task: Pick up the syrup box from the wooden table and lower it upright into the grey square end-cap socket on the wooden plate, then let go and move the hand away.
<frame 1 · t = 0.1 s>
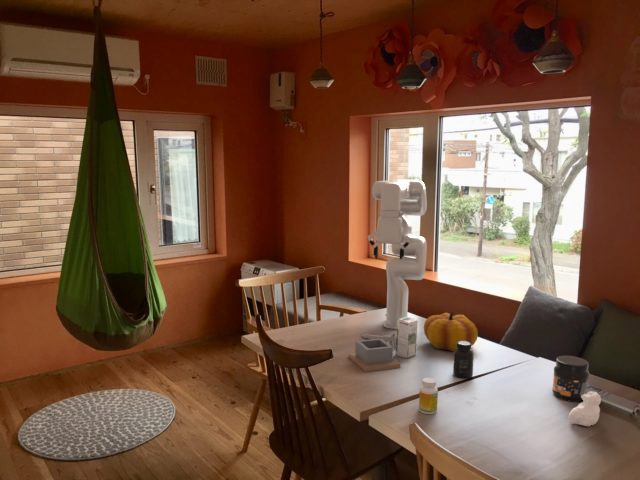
hand: (388, 258, 216), 37 cm above the table, tool pointing down, fingers open, 9 cm apart
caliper: (378, 343, 230), on the table
decorative pumpkin: (449, 347, 226), on the table
supplement bottle: (462, 375, 196), on the table
syrup box: (405, 355, 215), on the table
supplement bottle 2: (427, 411, 168), on the table
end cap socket: (373, 361, 207), on the table
bust: (585, 424, 161), on the table
supplement container: (569, 396, 180), on the table
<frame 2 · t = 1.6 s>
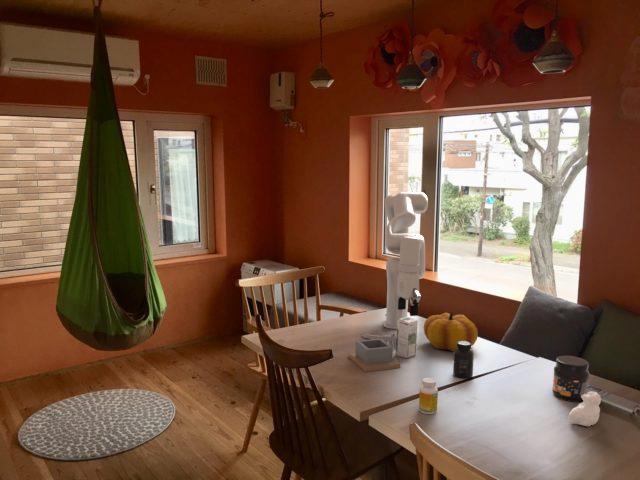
hand: (407, 312, 212), 17 cm above the table, tool pointing down, fingers open, 9 cm apart
nothing on the table moved.
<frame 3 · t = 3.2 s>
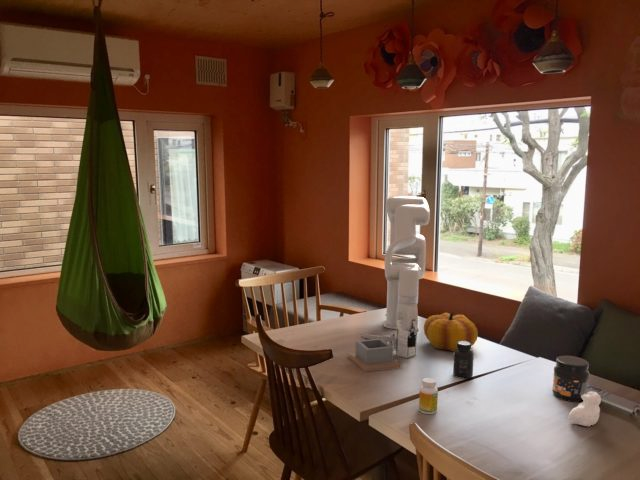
hand: (406, 343, 214), 5 cm above the table, tool pointing down, fingers closed on syrup box, 7 cm apart
syrup box: (405, 355, 215), on the table, touching gripper
everything else where it was.
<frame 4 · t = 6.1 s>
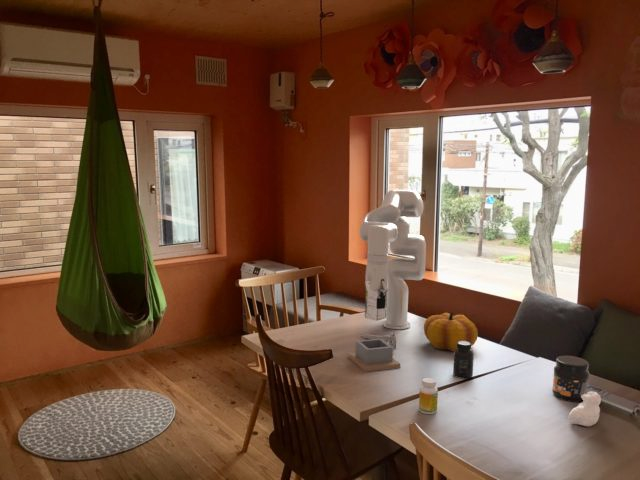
hand: (376, 305, 204), 22 cm above the table, tool pointing down, fingers closed on syrup box, 7 cm apart
syrup box: (375, 318, 205), point 17 cm above the table, touching gripper
everything else where it was.
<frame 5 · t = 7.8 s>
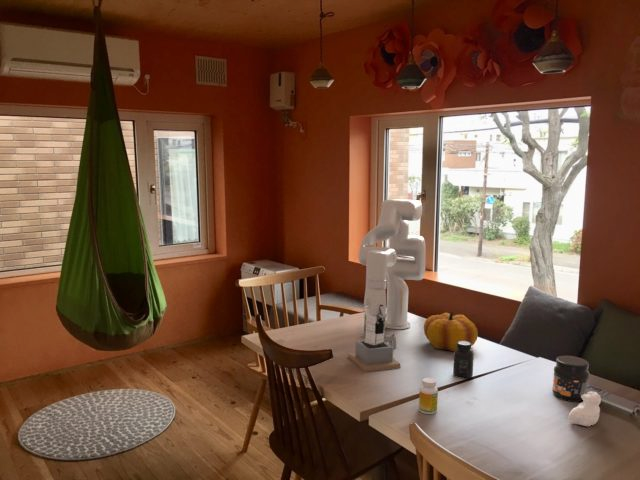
hand: (374, 330, 205), 12 cm above the table, tool pointing down, fingers closed on syrup box, 7 cm apart
syrup box: (374, 343, 206), point 7 cm above the table, touching gripper
everything else where it was.
when the fingers open (9 cm above the table, at t = 9.1 s): syrup box drops 2 cm, resting on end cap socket.
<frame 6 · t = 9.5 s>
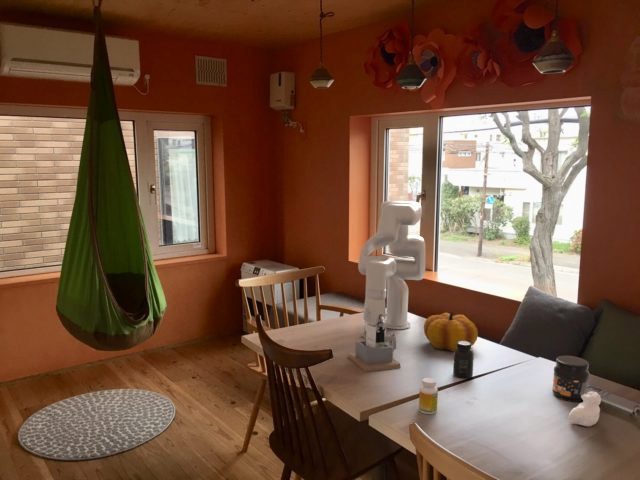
hand: (374, 338, 206), 9 cm above the table, tool pointing down, fingers open, 9 cm apart
syrup box: (374, 358, 207), point 1 cm above the table, touching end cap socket
everything else where it was.
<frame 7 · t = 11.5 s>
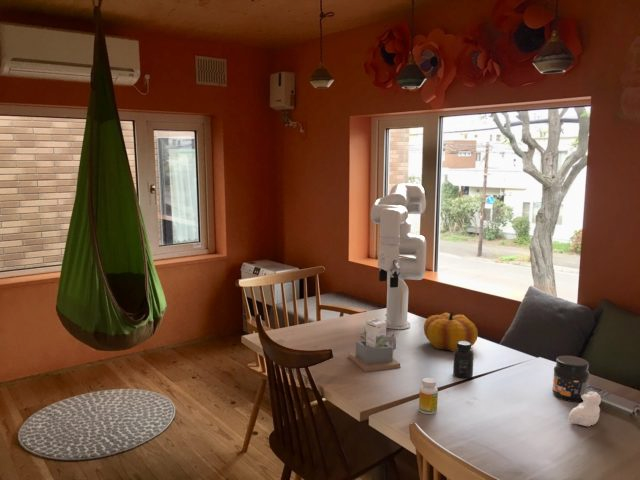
hand: (388, 284, 213), 28 cm above the table, tool pointing down, fingers open, 9 cm apart
nothing on the table moved.
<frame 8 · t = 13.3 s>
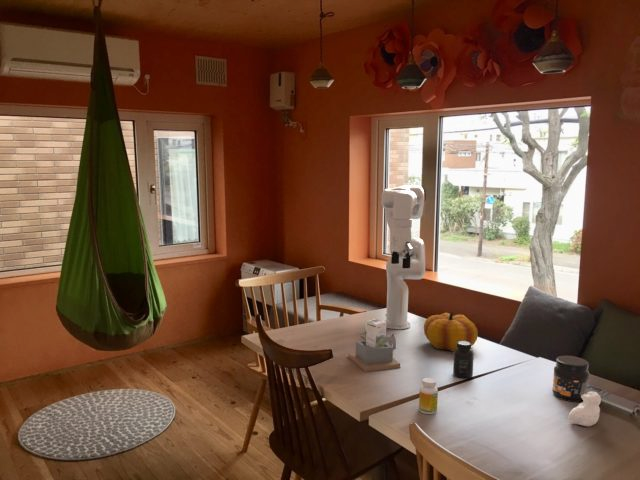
hand: (400, 265, 221), 33 cm above the table, tool pointing down, fingers open, 9 cm apart
nothing on the table moved.
at the end: syrup box 0.3 cm off-centre on the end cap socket, point 1.3 cm above the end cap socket's base; syrup box tilted 0°; the gripper is holding nothing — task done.
